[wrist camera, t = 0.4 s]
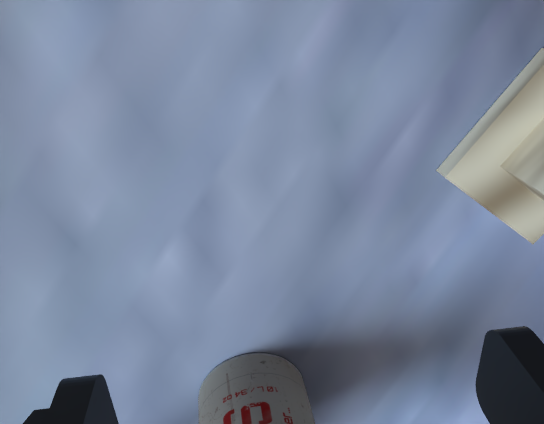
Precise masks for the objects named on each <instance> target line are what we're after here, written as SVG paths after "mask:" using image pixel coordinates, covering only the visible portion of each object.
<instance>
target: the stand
mask: <svg viewBox="0 0 544 424" xmlns="http://www.w3.org/2000/svg"><path fill="white" fill-rule="evenodd" d="M436 171H437V172H438V173H440V174H441V175H442V176H444V177H445V178H446V179H447V180H449V181H450V182H451V183H453V184H454V185H455V186H457V187H458V188H459V189H461V190H462V191H463V192H465V193H466V194H467V195H469V196H470V197H471V198H472V199H474V200H475V201H476V202H478V203H479V204H480V205H482V206H483V207H484V208H486V209H487V210H488V211H490V212H491V213H492V214H494V215H495V216H496V217H498V218H499V219H500V220H501V221H503V222H504V223H505V224H507V225H508V226H509V227H511V228H512V229H513V230H515V231H516V232H517V233H519V234H520V235H521V236H523V237H524V238H525V239H527V240H528V241H529V242H530V243H532V244H534V243H535V242H536V241H537V240H538V239H539V238H540V237H541V236H542V235H543V234H544V48H541V49H540V50H539V52H538V53H537V54H536V55H535V56H534V57H533V59H532V60H531V61H530V62H529V63H528V64H527V66H526V67H525V68H524V69H523V70H522V71H521V73H520V74H519V75H518V76H517V77H516V78H515V79H514V81H513V82H512V83H511V84H510V85H509V86H508V88H507V89H506V90H505V91H504V92H503V93H502V95H501V96H500V97H499V98H498V99H497V100H496V101H495V103H494V104H493V105H492V106H491V107H490V108H489V110H488V111H487V112H486V113H485V114H484V115H483V117H482V118H481V119H480V120H479V121H478V122H477V124H476V125H475V126H474V127H473V128H472V129H471V130H470V132H469V133H468V134H467V135H466V136H465V137H464V139H463V140H462V141H461V142H460V143H459V144H458V146H457V147H456V148H455V149H454V150H453V151H452V153H451V154H450V155H449V156H448V157H447V158H446V159H445V161H444V162H443V163H442V164H441V165H440V166H439V168H438V169H437V170H436Z"/></svg>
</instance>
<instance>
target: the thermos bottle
mask: <svg viewBox="0 0 544 424" xmlns="http://www.w3.org/2000/svg"><path fill="white" fill-rule="evenodd" d="M198 405H199V424H315V421H314V418H313V414H312V410H311V406H310V402H309V399H308V395H307V392H306V388H305V385H304V382H303V378H302V376H301V374H300V372H299V370H298V369H297V368H296V367H295V366H294V365H293V364H292V363H290V362H289V361H287V360H286V359H284V358H282V357H279V356H277V355H272V354H267V353H251V354H244V355H240V356H237V357H234V358H231V359H229V360H227V361H225V362H223V363H221V364H220V365H218V366H217V367H215V368H214V369H213V370H212V371H211V372H210V373H209V374H208V375H207V377H206V378H205V380H204V381H203V383H202V385H201V388H200V391H199V397H198Z"/></svg>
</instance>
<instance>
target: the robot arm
mask: <svg viewBox="0 0 544 424" xmlns="http://www.w3.org/2000/svg"><path fill="white" fill-rule="evenodd" d="M476 393H477V397H478V401H479V404H480V406H481V409H482V411H483V413H484V414H485V416H486V418H487V419H488V421H489V423H490V424H544V344H543V343H542V341H541V340H540V339H539V338H538V337H537V336H536V334H535V333H534V332H533V331H532V330H531V329H529V328H528V327H525V326H523V327H514V328H506V329H497V330H490V331H488V332H487V333H486V335H485V339H484V344H483V348H482V353H481V358H480V363H479V368H478V373H477V378H476ZM23 424H119V423H118V420H117V417H116V413H115V410H114V407H113V403H112V400H111V397H110V393H109V390H108V387H107V384H106V380H105V378H104V376H103V375H92V376H83V377H75V378H66V379H63V380H61V382H60V383H59V385H58V387H57V390H56V393H55V395H54V398H53V401H52V404H51V406H50V408H49V409H40V410H34V411H33V412H32V413H31V414H30V416H29V417H28V418H27V419H26V420H25V422H24V423H23Z"/></svg>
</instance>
